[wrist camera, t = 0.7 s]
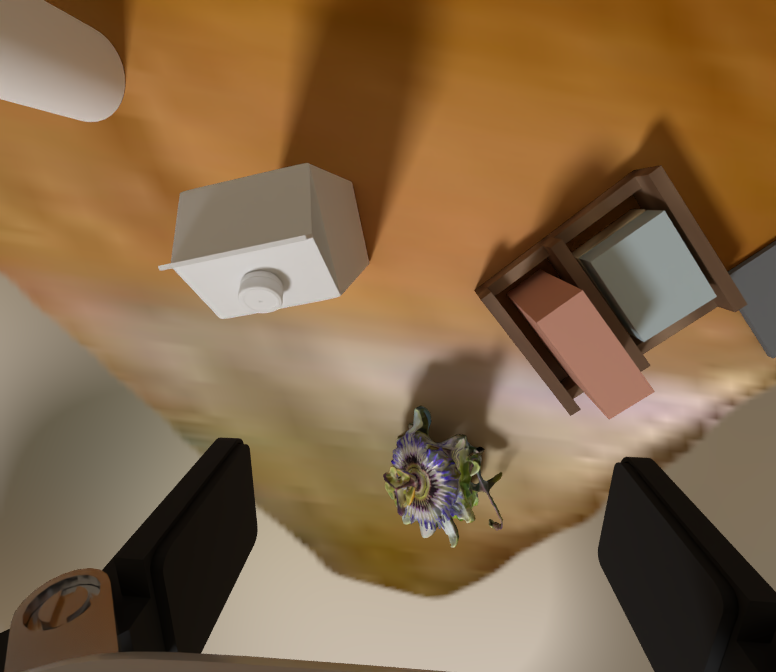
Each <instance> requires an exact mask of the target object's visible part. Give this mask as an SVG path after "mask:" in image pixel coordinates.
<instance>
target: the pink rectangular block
mask: <svg viewBox="0 0 776 672" xmlns="http://www.w3.org/2000/svg"><path fill="white" fill-rule="evenodd" d="M506 295H507V296H508V297H509V299H510V300H511V301H512V303H513V304H514V305H515V307H516V308H517V309H518V310H519V312H520V313H521V314H522V316H523V317H524V318H525V320H526V321H527V322H528V324H529V325H530V326H531V328H532V329H533V330H534V332H535V333H536V334H537V336H538V337H539V338H540V340H541V341H542V342H543V344H544V345H545V346H546V348H547V349H548V350H549V352H550V353H551V354H552V355H553V357H554V358H555V359H556V361H557V362H558V363H559V365H560V366H561V367H562V369H563V370H564V371H565V372H566V373H567V374H568V375H569V376H570V377H571V378H572V380H573V381H574V382H575V383H576V384H577V385H578V386H579V387H580V388H581V389H582V390H583V392H584V393H585V394H586V395H587V396H588V397H589V398H590V399H591V400H592V401H593V403H594V404H595V405H596V406H597V407H598V408H599V409H600V410H601V411H602V412H603V413H604V415H605V416H606V417H607V418H608V419H611V418H612V417H614V416H616V415H617V414H619V413H621V412H622V411H624V410H625V409H627V408H629V407H630V406H632V405H634V404H635V403H637V402H639V401H640V400H642V399H643V398H645V397H647V396H648V395H650V394H652V393H653V392H655V391H654V390H653V388H652V387H651V386H650V384H649V383H648V381H647V380H646V379H645V377H644V376H643V374H642V373H641V372H640V370H639V369H638V367H637V366H636V365H635V363H634V362H633V360H632V359H631V358H630V356H629V355H628V353H627V352H626V350H625V349H624V348H623V346H622V345H621V343H620V342H619V341H618V339H617V338H616V336H615V335H614V334H613V332H612V331H611V329H610V328H609V327H608V325H607V324H606V322H605V321H604V320H603V318H602V317H601V315H600V314H599V313H598V311H597V310H596V308H595V307H594V305H593V304H592V303H591V301H590V300H589V298H588V297H587V296H586V294H585V293H584V291H583V290H581V289H579V288H577V287H575V286H573V285H571V284H569V283H567V282H565V281H563V280H561V279H559V278H556V277H554V276H552V275H550V274H548V273H546V272H544V271H542V270H540V269H539V270H538V271H537V272H535V273H534V274H532V275H531V276H530V277H528V278H527V279H526V280H524V281H523V282H522V283H520V284H519V285H518V286H516V287H515V288H513V289H512V290H511V291H509V292H508V293H507V294H506Z"/></svg>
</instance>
